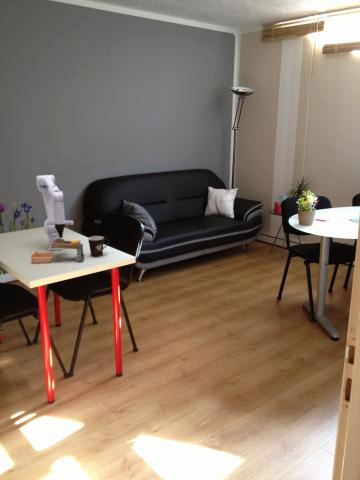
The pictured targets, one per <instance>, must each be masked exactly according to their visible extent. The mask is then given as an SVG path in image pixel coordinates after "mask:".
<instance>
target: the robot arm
mask: <svg viewBox="0 0 360 480" xmlns="http://www.w3.org/2000/svg"><path fill="white" fill-rule="evenodd" d="M35 182H36V186H37V187H36V188H37V190H38V192H41V195H42V198H43V203H44V208H45V213H46V216H47V219H45V220H44V222H43V227H44V228H43V229H44V233H45V234H46V235H47V239H48V248H47V251H62V249H63V248H51V244H53V240H56V239H63V237H64V236H63V235H64V230H65V227H66V226H67V225H68V226H69V225H72V226H73V225H74V220H66V216H65V206H64V205H65V203H64V202H65V199H66V197H65V193H64V191H61V190H60V189H59V187H58V186H57V185H56V177H55V175H54V174H45V175H37V176H36V177H35Z"/></svg>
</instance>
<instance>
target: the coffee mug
mask: <svg viewBox="0 0 360 480" xmlns="http://www.w3.org/2000/svg"><path fill="white" fill-rule="evenodd" d="M87 239H88V246H89V251H90V256H91V257H93V258H99V257H102V256H103V254H104V249H105V248H106V247H107V246H108V245H109V244H110V239H109V238H105V237H104V236H100V235H93V236H90V237H88V238H87ZM106 240H107V243H106V245H104V241H106Z"/></svg>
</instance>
